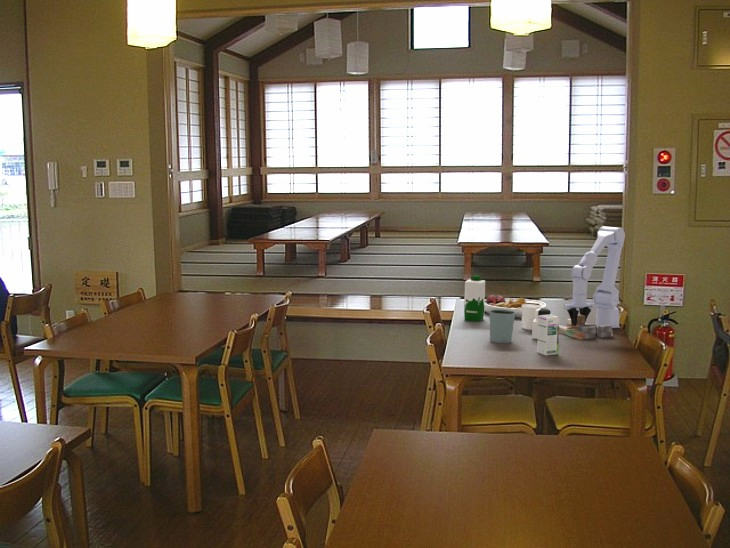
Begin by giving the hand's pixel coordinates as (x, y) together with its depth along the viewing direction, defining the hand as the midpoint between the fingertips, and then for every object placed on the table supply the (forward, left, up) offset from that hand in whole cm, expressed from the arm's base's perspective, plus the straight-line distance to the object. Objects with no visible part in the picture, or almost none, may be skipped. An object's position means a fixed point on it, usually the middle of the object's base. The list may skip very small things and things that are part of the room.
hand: (578, 325), depth 344 cm
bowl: (0, -47, -3) cm, 48 cm away
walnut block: (0, 0, -2) cm, 2 cm away
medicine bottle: (+22, +5, -3) cm, 23 cm away
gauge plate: (+3, +8, -3) cm, 9 cm away
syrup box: (+37, +29, -3) cm, 47 cm away
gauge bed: (0, 0, -3) cm, 3 cm away
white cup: (+15, -13, -3) cm, 20 cm away
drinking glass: (+41, +4, -3) cm, 41 cm away
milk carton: (+28, -39, -3) cm, 48 cm away
